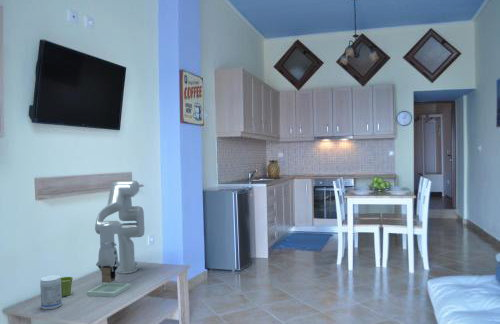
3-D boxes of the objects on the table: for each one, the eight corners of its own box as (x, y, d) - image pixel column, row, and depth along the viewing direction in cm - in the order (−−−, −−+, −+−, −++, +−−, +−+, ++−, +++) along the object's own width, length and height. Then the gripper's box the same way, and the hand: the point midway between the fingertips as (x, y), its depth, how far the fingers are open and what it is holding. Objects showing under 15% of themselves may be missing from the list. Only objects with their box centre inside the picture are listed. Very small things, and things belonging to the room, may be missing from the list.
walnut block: (107, 279, 233) (106, 265, 233) (115, 280, 232) (114, 265, 232) (102, 282, 228) (101, 267, 228) (110, 282, 227) (109, 268, 227)
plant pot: (66, 298, 221) (66, 282, 221) (51, 297, 223) (50, 281, 223) (77, 292, 230) (76, 276, 230) (62, 291, 232) (61, 276, 232)
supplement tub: (42, 305, 212) (40, 276, 211) (62, 302, 215) (61, 274, 215) (40, 311, 203) (39, 281, 202) (61, 308, 206) (60, 278, 206)
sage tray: (105, 286, 240) (104, 282, 240) (130, 287, 236) (130, 283, 236) (87, 295, 224) (87, 291, 224) (114, 297, 220) (113, 293, 220)
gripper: (124, 244, 231) (125, 276, 231) (98, 243, 236) (99, 275, 236) (117, 247, 224) (118, 280, 224) (89, 246, 228) (91, 279, 228)
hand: (108, 277), depth 230 cm, fingers closed on walnut block, 5 cm apart
